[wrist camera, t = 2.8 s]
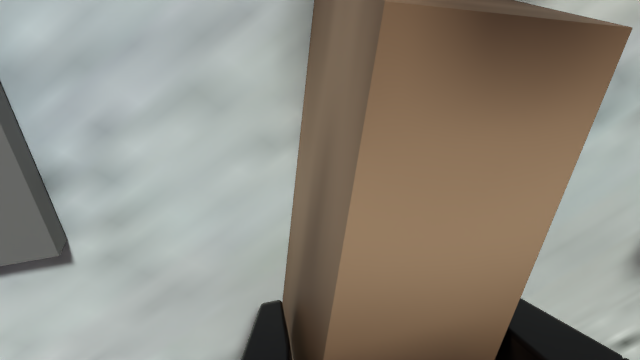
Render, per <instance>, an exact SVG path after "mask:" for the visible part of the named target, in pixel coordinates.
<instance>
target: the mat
mask: <svg viewBox="0 0 640 360" xmlns="http://www.w3.org/2000/svg"><path fill="white" fill-rule="evenodd" d="M66 241H67V239H66V237H65V234H64V232H63V230H62V227H61V225H60V222H59V220H58V218H57V215H56V213H55V211H54V208H53V206H52V204H51V201H50V199H49V197H48V194H47V192H46V190H45V187H44V185H43V183H42V180H41V178H40V175H39V173H38V171H37V168H36V166H35V164H34V161H33V159H32V157H31V154H30V152H29V150H28V147H27V145H26V143H25V140H24V138H23V136H22V133H21V131H20V129H19V126H18V124H17V121H16V119H15V117H14V114H13V112H12V110H11V107H10V105H9V103H8V100H7V98H6V96H5V93H4V91H3V89H2V86H1V84H0V266H5V265H11V264H17V263H22V262H28V261H34V260H40V259H46V258H51V257H57V256H60V254H61V252H62V249H63V247H64V245H65V243H66Z"/></svg>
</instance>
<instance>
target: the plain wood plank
mask: <svg viewBox="0 0 640 360" xmlns="http://www.w3.org/2000/svg"><path fill="white" fill-rule="evenodd" d="M631 30H632V27H627V26H623V25H618V24H614V23H610V22H605V21H601V20H597V19H592V18H588V17H584V16H579V15H575V14H570V13H566V12H562V11H557V10H553V9H549V8H544V7H540V6H536V5H531V4H527V3H522V2H518V1H514V0H314V9H313V18H312V28H311V37H310V47H309V56H308V66H307V75H306V84H305V94H304V103H303V113H302V122H301V132H300V141H299V151H298V160H297V170H296V179H295V189H294V198H293V208H292V217H291V227H290V236H289V246H288V255H287V265H286V274H285V283H284V293H283V302H282V304H283V309H284V314H285V320H286V325H287V330H288V335H289V340H290V347H291V354H292V360H495V358H496V355H497V353H498V350H499V348H500V345H501V343H502V341H503V338H504V336H505V333H506V331H507V329H508V326H509V324H510V321H511V319H512V317H513V314H514V312H515V309H516V307H517V305H518V302H519V300H520V297H521V295H522V293H523V290H524V288H525V285H526V283H527V281H528V278H529V276H530V273H531V271H532V268H533V266H534V264H535V261H536V259H537V256H538V254H539V252H540V249H541V247H542V244H543V242H544V240H545V237H546V235H547V232H548V230H549V228H550V225H551V223H552V220H553V218H554V216H555V213H556V211H557V208H558V206H559V203H560V201H561V199H562V196H563V194H564V191H565V189H566V187H567V184H568V182H569V179H570V177H571V175H572V172H573V170H574V167H575V165H576V163H577V160H578V158H579V155H580V153H581V151H582V148H583V146H584V143H585V141H586V139H587V136H588V134H589V131H590V129H591V126H592V124H593V122H594V119H595V117H596V114H597V112H598V110H599V107H600V105H601V102H602V100H603V98H604V95H605V93H606V90H607V88H608V86H609V83H610V81H611V78H612V76H613V74H614V71H615V69H616V66H617V64H618V62H619V59H620V57H621V54H622V52H623V49H624V47H625V45H626V42H627V40H628V37H629V35H630V33H631Z"/></svg>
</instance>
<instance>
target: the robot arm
mask: <svg viewBox="0 0 640 360" xmlns="http://www.w3.org/2000/svg"><path fill="white" fill-rule="evenodd" d="M241 360H292V354H291V347H290V340H289V335H288V330H287V325H286V320H285V314H284V309H283V304H282V302H281V301H280V300H277V301H272V302H267V303H263V304H262V305H261V306H260V309H259V312H258V314H257V317H256V320H255V323H254V325H253V328H252V331H251V334H250V337H249V339H248V342H247V345H246V348H245V350H244V353H243V356H242V359H241ZM495 360H629V359H627V358H624V359H623V357H622V356H621V355H620V354H618V353H616V352H615V351H613V350H611V349H609V348H608V347H606V346H604V345H602V344H601V343H599V342H597V341H595V340H593V339H592V338H590V337H588V336H586V335H585V334H583V333H581V332H579V331H578V330H576V329H574V328H572V327H570V326H569V325H567V324H565V323H563V322H562V321H560V320H558V319H556V318H555V317H553V316H551V315H549V314H548V313H546V312H544V311H542V310H540V309H539V308H537V307H535V306H533V305H532V304H530V303H528V302H526V301H525V300H523V299H521V298H520V300H519V302H518V305H517V307H516V309H515V312H514V314H513V317H512V319H511V321H510V324H509V326H508V329H507V331H506V333H505V336H504V338H503V341H502V343H501V345H500V348H499V350H498V353H497V355H496V358H495Z"/></svg>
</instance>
